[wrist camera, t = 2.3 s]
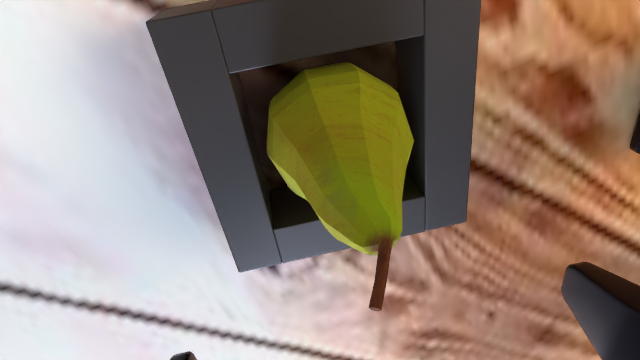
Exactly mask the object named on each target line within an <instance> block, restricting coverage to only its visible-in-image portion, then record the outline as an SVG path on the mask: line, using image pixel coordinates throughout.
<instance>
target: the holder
mask: <svg viewBox="0 0 640 360" xmlns="http://www.w3.org/2000/svg"><path fill="white" fill-rule="evenodd" d="M480 9H481V0H210V1H205V2H200V3H194V4H189V5H184V6H178V7H173V8H168V9H165V10H164V11H162V12H161V13H159V14H157V15H156V16H154V17H153V18H151V19H150V20H148V21H147V22H146V25H147V28H148V30H149V33H150V36H151V38H152V41H153V44H154V47H155V49H156V52H157V55H158V57H159V60H160V63H161V65H162V68H163V71H164V73H165V76H166V79H167V81H168V84H169V87H170V89H171V92H172V95H173V97H174V100H175V103H176V105H177V108H178V111H179V113H180V116H181V119H182V121H183V124H184V127H185V129H186V132H187V135H188V137H189V140H190V143H191V145H192V148H193V151H194V153H195V156H196V159H197V161H198V164H199V167H200V169H201V172H202V175H203V177H204V180H205V183H206V185H207V188H208V191H209V193H210V196H211V199H212V201H213V204H214V207H215V209H216V212H217V215H218V217H219V220H220V223H221V225H222V228H223V231H224V233H225V236H226V239H227V241H228V244H229V247H230V249H231V252H232V255H233V258H234V260H235V263H236V266H237V268H238V271H239V272H245V271H249V270H254V269H258V268H263V267H267V266H272V265H276V264H280V263H282V262H283V263H286V262H290V261H295V260H299V259H303V258H308V257H312V256H317V255H321V254H326V253H330V252H335V251H339V250H344V249H348V248H353V247H351V246H349V245H347V244H345V243H343V242H341V241H339V240H337V239H336V238H335V237H334V236H333V235H332V234H330V233H329V231H328V230H327V229H326V228H325V226H324V225H323V224H322V222H321V220H320V219H319V217H318V216H317V214H316V212H315V211H314V209H313V208H312V206H311V204H310V203H309V202H308V201H307V200H306V199H304V198H302V197H300V196H299V195H297V194H295V193H294V192H293V191H292V190H291V189H290V188H289V187H284V188H280V189H275V190H271V191H270V188H269V185H268V181H267V177H266V174H265V170H264V166H263V162H262V159H261V155H260V151H259V148H258V144H257V140H256V137H255V133H254V129H253V125H252V122H251V118H250V114H249V111H248V107H247V103H246V99H245V96H244V92H243V88H242V85H241V81H240V77H239V74H238V72H240V71H245V70H250V69H255V68H260V67H265V66H270V65H276V64H281V63H286V62H291V61H296V60H301V59H306V58H311V57H316V56H321V55H326V54H331V53H336V52H342V51H347V50H352V49H357V48H362V47H367V46H372V45H377V44H382V43H387V42H392V41H396V50H397V72H398V94H399V97H400V100H401V103H402V106H403V109H404V112H405V115H406V118H407V121H408V124H409V127H410V130H411V133H412V136H413V139H414V143H413V146H412V150H411V153H410V157H409V160H408V163H407V167H406V172H405V179H404V187H403V195H402V232H401V235H400V237H402V236H406V235H411V234H415V233H420V232H424V231H425V230H432V229H436V228H441V227H445V226H450V225H454V224H459V223H463V222H466V218H467V203H468V188H469V173H470V158H471V144H472V129H473V114H474V99H475V84H476V69H477V54H478V39H479V24H480Z"/></svg>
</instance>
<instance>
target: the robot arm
mask: <svg viewBox="0 0 640 360" xmlns="http://www.w3.org/2000/svg"><path fill="white" fill-rule="evenodd" d="M630 149H631V150H633V151H635V152H637V153H639V154H640V116H639V119H638V122H637V125H636V129H635V132H634V135H633V138H632V141H631V144H630ZM561 291H562V295H563V297H564V299H565V301H566V303H567V304H568V306H569V308H570V309H571V311H572V312H573V314H574V316H575V317H576V319H577V321H578V322H579V324H580V325H581V327H582V329H583V330H584V332H585V334H586V335H587V337H588V339H589V340H590V342H591V343H592V345H593V347H594V348H595V350H596V351H597V353H598V354H599V356H600V358H601V359H602V360H640V286H639V285H637V284H634V283H632V282H630V281H628V280H626V279H624V278H621V277H619V276H617V275H615V274H613V273H611V272H609V271H606V270H604V269H602V268H600V267H598V266H596V265H593V264H591V263H589V262H579V263H575V264H571V265H569V266H568V267H567V268H566V271H565V275H564V279H563V283H562V287H561ZM170 360H197V359H196V357H195V356H194V354H193V353H192V352H190V351H189V352H184V353H180V354H176V355H174V356H173V357H172V358H171V359H170Z"/></svg>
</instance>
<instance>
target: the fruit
mask: <svg viewBox="0 0 640 360" xmlns="http://www.w3.org/2000/svg"><path fill="white" fill-rule="evenodd" d="M413 143H414V139H413V136H412V133H411V130H410V127H409V124H408V121H407V118H406V115H405V112H404V109H403V106H402V103H401V100H400V97H399V94H398V92H397V91H396V90H394V89H393V88H392V87H391V86H390V85H389V84H387V83H385V82H383V81H382V80H380V79H378V78H376V77H375V76H373V75H371V74H369V73H367V72H366V71H364V70H362V69H360V68H359V67H357V66H355V65H353V64H352V63H349V62H342V63H336V64H331V65H325V66H319V67H313V68H308V69H303V70H302V71H301V72H300V73H299V74H298V75H297V76H295V77H294V78H293V79H292V80H291V81H290V82H289V83H288V84H287V85H286V86H285V87H284V88H282V89H281V90H280V91H279V92H278V93H277V94H276V95H275V96H274V97H273V98H272V99H271V101H270V106H269V117H268V129H267V142H266V146H267V154H268V156H269V157H270V159H271V161H272V162H273V164H274V165H275V167H276V168H277V170H278V171H279V173H280V174H281V176H282V177H283V179H284V180H285V182H286V184H287V185H288V187H289V188H290V189H291V190H292V191H293V192H294V193H295V194H297V195H299V196H300V197H302V198H304V199H306V200H307V201H308V202H309V203H310V204H311V206H312V208H313V209H314V211H315V212H316V214H317V216H318V217H319V219H320V220H321V222H322V224H323V225H324V226H325V228H326V229H327V230H328V231H329V233H330V234H332V235H333V236H334V237H335V238H336V239H337V240H339V241H341V242H343V243H345V244H347V245H349V246H351V247H353V248H355V249H357V250H359V251H361V252H363V253H366V254H368V255H378V259H377V267H376V275H375V282H374V286H373V291H372V295H371V300H370V304H369V308H370V309H371V310H374V311H381V310H382V304H383V298H384V293H385V287H386V281H387V275H388V267H389V260H390V254H391V249H392V248H393V246H394V245H395V244H396V242H397V241H398V240H399V238H400V235H401V232H402V195H403V187H404V179H405V172H406V167H407V163H408V160H409V157H410V153H411V150H412V146H413Z"/></svg>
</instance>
